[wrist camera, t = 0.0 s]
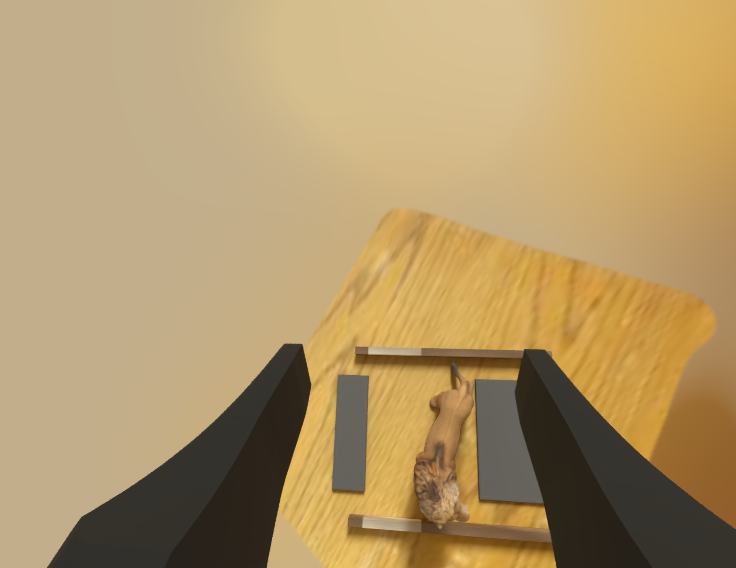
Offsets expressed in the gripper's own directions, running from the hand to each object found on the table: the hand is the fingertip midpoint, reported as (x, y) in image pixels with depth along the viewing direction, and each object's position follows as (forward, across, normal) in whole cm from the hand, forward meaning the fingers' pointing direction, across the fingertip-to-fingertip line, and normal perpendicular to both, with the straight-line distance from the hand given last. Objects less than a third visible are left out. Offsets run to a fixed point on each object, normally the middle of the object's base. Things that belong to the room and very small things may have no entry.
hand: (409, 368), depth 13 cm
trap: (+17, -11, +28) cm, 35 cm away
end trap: (+17, +7, +28) cm, 33 cm away
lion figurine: (+17, -4, +28) cm, 33 cm away
